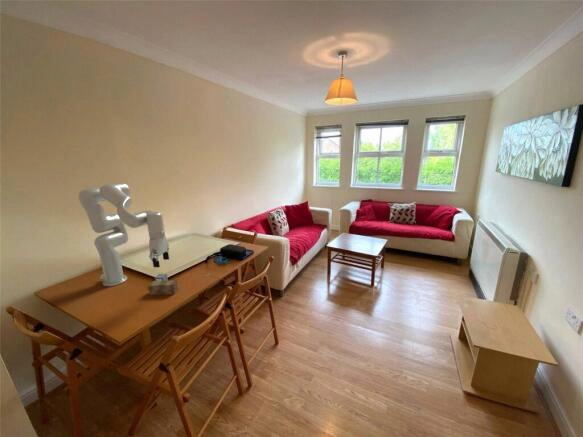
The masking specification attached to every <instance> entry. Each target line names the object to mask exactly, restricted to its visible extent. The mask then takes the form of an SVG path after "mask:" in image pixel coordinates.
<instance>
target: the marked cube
mask: <svg viewBox="0 0 583 437" xmlns="http://www.w3.org/2000/svg"><path fill="white" fill-rule="evenodd" d="M154 281H169V277H168V273H158V274H157V275H156V276H155V277H154Z"/></svg>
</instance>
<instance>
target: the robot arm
mask: <svg viewBox="0 0 583 437" xmlns="http://www.w3.org/2000/svg"><path fill="white" fill-rule="evenodd" d="M130 194H131V188H130V187H129V186H128V184H126V183H124V182H114V183H107V184H103V185H102V186H93V187H88V188H84V189H82V190H80V191H79V192H78V202H79V204H80V206H82V208H83V209H84V211H85V213H86V216H87V218H88V222H89V224H90V225H91V229H92V230H93V231H94V232H95V233H97V234H100V233H101V235H99V236H97V237H96V238H95V239H94V243H93V244H94V246H95V248H96V250H97V252H98V255H99V259H100V260H99V261H100V263H101V267H102V272H103V274H101V275H100V277H99V280H103V282H102V286H104V287H114V286H118V285H121V284H122V283H124V282H126V281H127V280H128V276H127V275H125V274H124V272H123V266H122V265H123V264H122V262H121V257H120V253H119V252H118V251H117V250H115V248H116V247H120V246H122V245H124V244H126V243H128V241H129V234H128V231H127V228H126V226H128V227H129V228H133V229H136V228H140V227H143V226H147V232H148V237H149V241H148V242H149V243H148V246H149V256H148V257H149V259H150V260H151V262H152V266H153V268H160V267H161V266H160V265H161V264H160V261H159V259H160V258H159V257H161V255H162V259H163V260H164V261H166V260H170V254H169V253H170V252H169V247H170V246H169V245H170V244H169V243H167V238H166V233H165V225H164V221H163V220H164V219H163V214H162V212H159V211H153V210H143V211H137V212H134V213H131V212H129V211H128V209H129V208H130V207H131V205H132V204H133V200H132V197H131V196H129V195H130ZM105 201H108V202H109V203H110V204H111V205H113V207H115V208H116V213H110V214H107V213H106V210H105V208H104V207H103V205H101V204H100V203H99V202H105ZM125 225H126V226H125ZM109 231H111V232H109ZM105 232H107V233H105ZM102 233H104V234H102Z"/></svg>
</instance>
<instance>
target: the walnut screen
mask: <svg viewBox="0 0 583 437" xmlns="http://www.w3.org/2000/svg"><path fill="white" fill-rule="evenodd" d="M147 286H148V291H149V296H153V295H155V296H156V295H158V296H159V295H160V296H161V295H175V294H176V293H177V292H178V290H179V285H178V280H168V281H155V280H153V281H151V282H150V283H149V284H148V285H147Z"/></svg>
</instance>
